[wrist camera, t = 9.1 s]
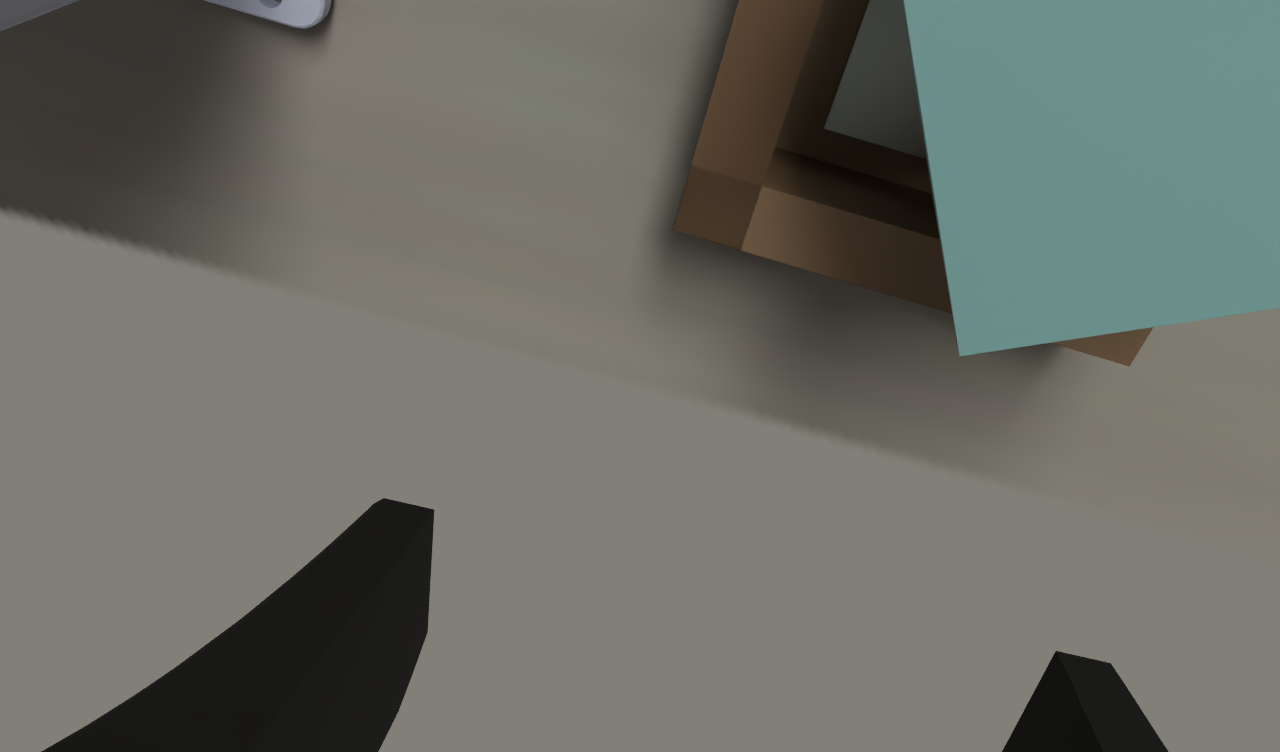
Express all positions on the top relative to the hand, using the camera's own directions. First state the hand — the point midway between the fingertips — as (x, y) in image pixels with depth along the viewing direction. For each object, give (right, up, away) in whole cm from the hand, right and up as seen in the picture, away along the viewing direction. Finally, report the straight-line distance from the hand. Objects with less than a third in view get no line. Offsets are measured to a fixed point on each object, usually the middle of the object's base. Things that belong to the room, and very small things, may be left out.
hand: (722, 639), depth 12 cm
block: (+6, +9, +4) cm, 12 cm away
